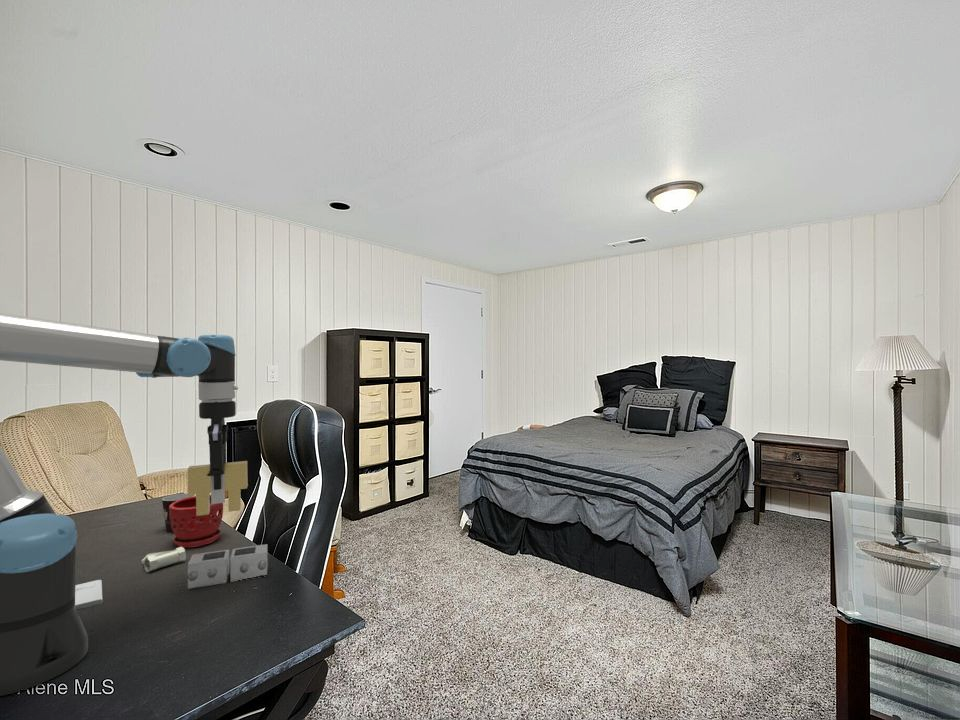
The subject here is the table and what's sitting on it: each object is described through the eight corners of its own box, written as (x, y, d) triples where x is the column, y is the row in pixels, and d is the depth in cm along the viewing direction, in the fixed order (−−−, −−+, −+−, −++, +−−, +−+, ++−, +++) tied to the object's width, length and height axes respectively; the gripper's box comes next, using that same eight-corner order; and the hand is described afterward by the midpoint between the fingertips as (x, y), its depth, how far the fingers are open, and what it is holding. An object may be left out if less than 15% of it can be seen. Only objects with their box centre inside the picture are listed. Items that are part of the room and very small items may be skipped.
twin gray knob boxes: (266, 577, 110) (266, 553, 110) (187, 590, 104) (187, 565, 104) (267, 566, 116) (267, 544, 116) (192, 578, 110) (192, 554, 110)
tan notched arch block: (247, 509, 111) (246, 463, 111) (188, 517, 106) (187, 468, 106) (247, 506, 114) (247, 460, 114) (190, 513, 109) (189, 466, 109)
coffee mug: (164, 527, 147) (164, 495, 147) (196, 523, 151) (196, 492, 151) (157, 539, 137) (157, 504, 137) (191, 534, 140) (191, 501, 140)
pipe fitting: (138, 570, 116) (150, 574, 113) (137, 554, 117) (149, 557, 113) (173, 559, 123) (186, 562, 119) (173, 544, 123) (185, 547, 120)
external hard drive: (49, 619, 93) (53, 596, 103) (102, 606, 98) (101, 585, 108) (49, 611, 93) (53, 589, 103) (102, 598, 98) (101, 578, 108)
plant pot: (175, 538, 137) (175, 497, 138) (226, 532, 142) (226, 492, 142) (163, 554, 125) (163, 509, 125) (219, 547, 130) (219, 503, 130)
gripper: (232, 401, 105) (234, 507, 104) (237, 398, 119) (239, 491, 119) (193, 403, 102) (195, 512, 101) (203, 399, 116) (205, 494, 116)
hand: (219, 500), depth 110 cm, fingers closed on tan notched arch block, 3 cm apart
